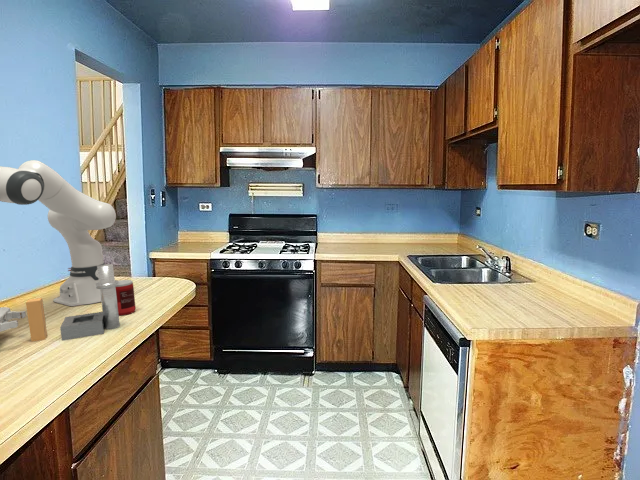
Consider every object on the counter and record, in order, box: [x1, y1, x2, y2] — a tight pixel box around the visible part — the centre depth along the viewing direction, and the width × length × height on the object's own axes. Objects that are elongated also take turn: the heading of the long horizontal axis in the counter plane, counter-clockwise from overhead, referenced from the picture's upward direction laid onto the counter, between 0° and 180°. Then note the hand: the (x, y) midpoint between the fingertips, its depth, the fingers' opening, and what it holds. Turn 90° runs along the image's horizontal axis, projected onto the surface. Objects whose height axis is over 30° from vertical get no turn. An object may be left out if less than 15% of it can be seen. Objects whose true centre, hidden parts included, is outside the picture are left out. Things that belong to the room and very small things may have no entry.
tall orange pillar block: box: [25, 297, 48, 343], centre depth 126 cm, size 4×4×12 cm
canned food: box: [116, 279, 137, 317], centre depth 149 cm, size 8×8×11 cm
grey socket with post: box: [59, 263, 121, 341], centre depth 131 cm, size 16×11×20 cm
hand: (21, 318), depth 124 cm, fingers open, 8 cm apart
